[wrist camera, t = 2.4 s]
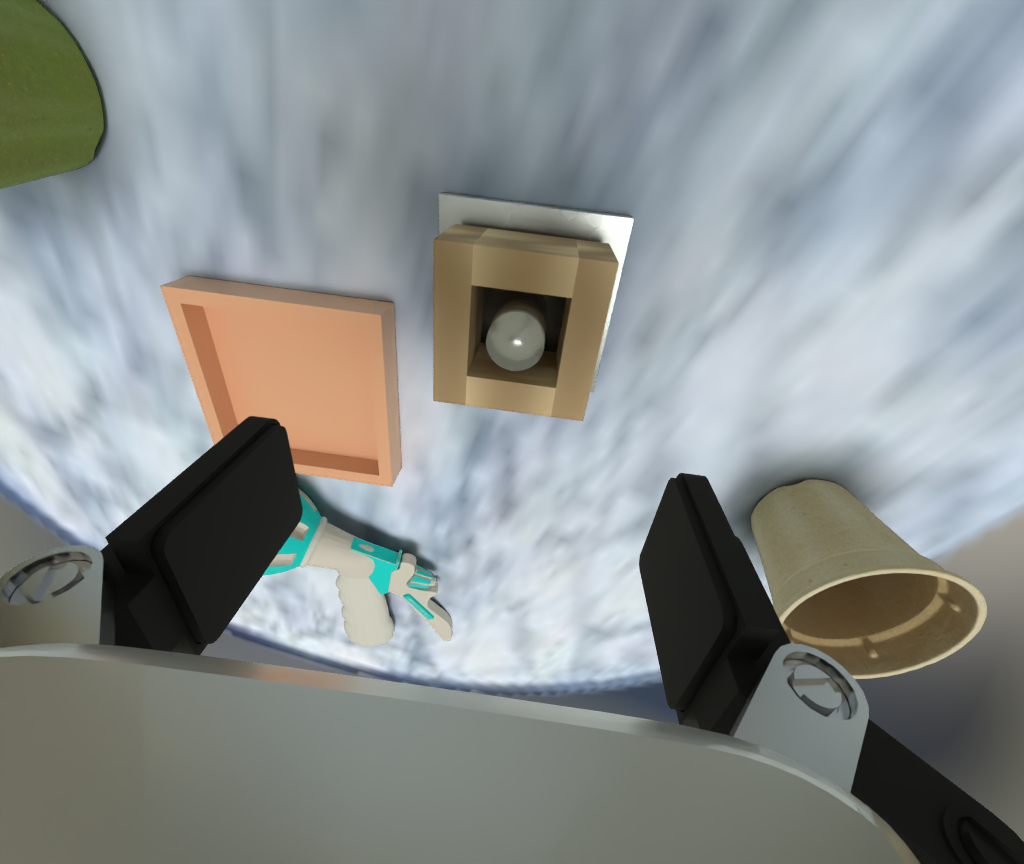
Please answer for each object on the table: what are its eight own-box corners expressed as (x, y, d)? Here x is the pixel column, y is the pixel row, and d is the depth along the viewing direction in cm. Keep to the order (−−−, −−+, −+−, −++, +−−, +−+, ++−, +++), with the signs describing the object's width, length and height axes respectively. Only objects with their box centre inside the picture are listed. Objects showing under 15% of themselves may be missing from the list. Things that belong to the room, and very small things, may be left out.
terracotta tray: (393, 302, 24) (380, 315, 22) (401, 467, 30) (392, 486, 29) (189, 275, 24) (160, 285, 23) (239, 444, 31) (220, 462, 29)
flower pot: (713, 559, 33) (757, 676, 25) (735, 458, 28) (798, 569, 20) (851, 560, 31) (937, 683, 24) (900, 454, 26) (1028, 570, 19)
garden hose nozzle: (446, 680, 39) (455, 549, 26) (244, 668, 38) (149, 525, 25) (455, 604, 44) (466, 465, 32) (279, 592, 43) (215, 442, 30)
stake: (631, 215, 21) (656, 240, 15) (592, 384, 26) (600, 447, 20) (443, 192, 21) (402, 208, 15) (441, 364, 26) (409, 421, 20)
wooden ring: (609, 243, 20) (619, 263, 16) (579, 382, 23) (583, 421, 20) (455, 223, 20) (434, 239, 16) (451, 364, 24) (433, 400, 20)
